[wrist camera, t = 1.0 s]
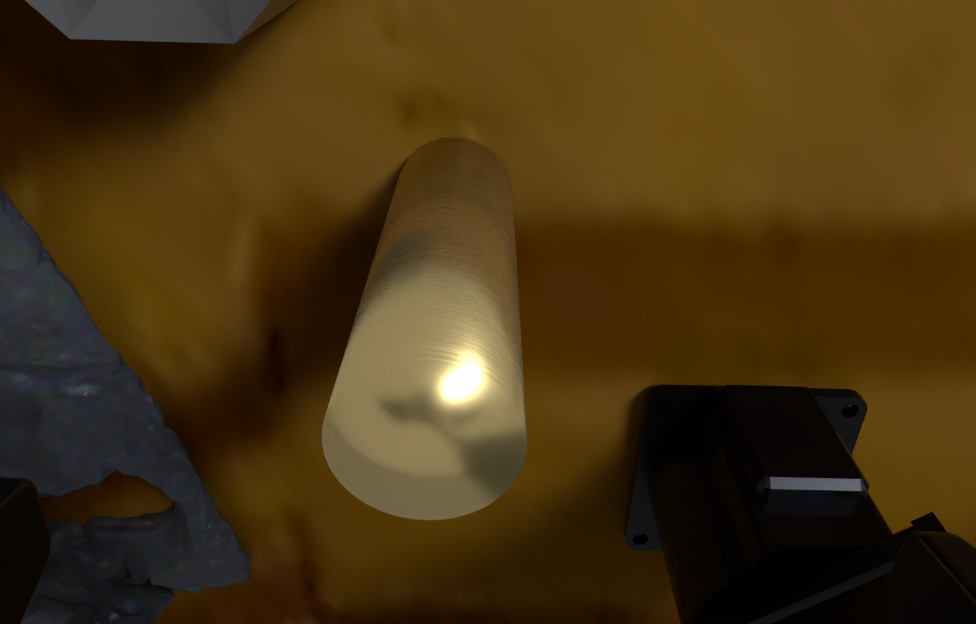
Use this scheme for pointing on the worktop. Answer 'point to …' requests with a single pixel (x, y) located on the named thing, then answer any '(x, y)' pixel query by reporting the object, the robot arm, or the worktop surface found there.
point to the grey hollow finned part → (160, 18)
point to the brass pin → (435, 346)
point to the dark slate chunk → (95, 453)
